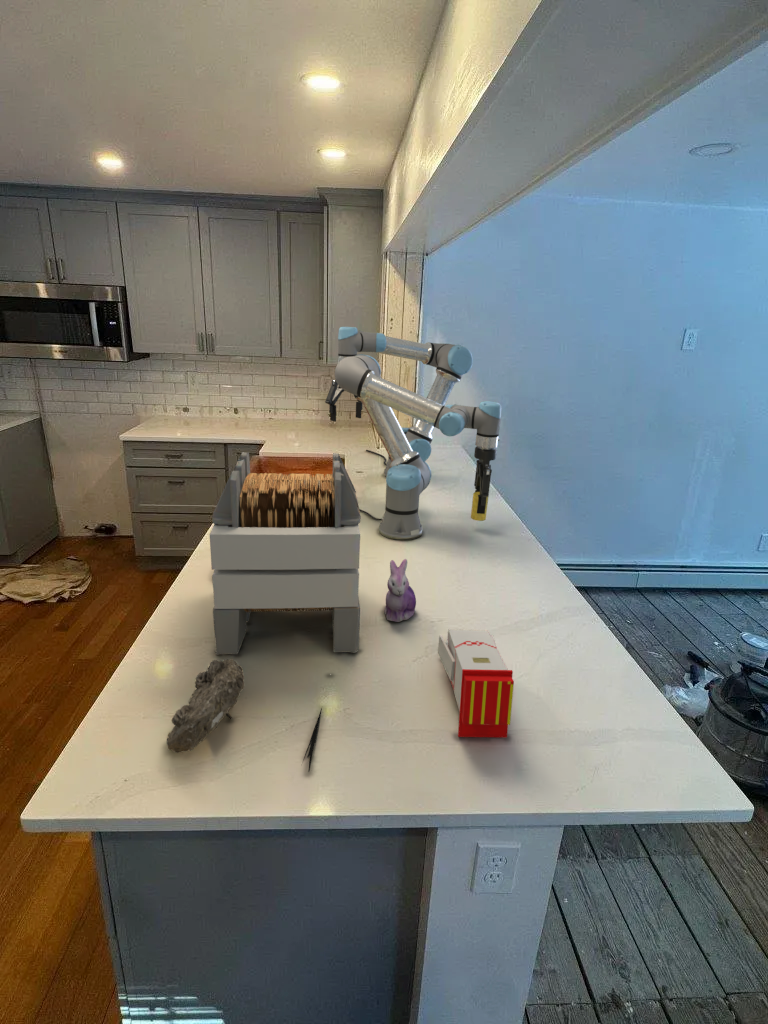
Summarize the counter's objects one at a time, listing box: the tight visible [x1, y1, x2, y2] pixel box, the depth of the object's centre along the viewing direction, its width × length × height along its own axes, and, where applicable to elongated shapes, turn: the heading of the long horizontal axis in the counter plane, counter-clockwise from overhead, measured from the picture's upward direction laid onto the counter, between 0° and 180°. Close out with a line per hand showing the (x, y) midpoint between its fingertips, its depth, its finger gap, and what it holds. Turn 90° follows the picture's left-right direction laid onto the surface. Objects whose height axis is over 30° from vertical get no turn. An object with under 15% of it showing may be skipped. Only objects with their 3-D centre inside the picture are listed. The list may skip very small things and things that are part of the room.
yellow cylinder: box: [470, 491, 490, 522], centre depth 204 cm, size 5×5×9 cm
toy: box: [437, 628, 515, 738], centre depth 117 cm, size 12×13×30 cm
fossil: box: [166, 658, 245, 754], centre depth 106 cm, size 22×10×15 cm
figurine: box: [384, 558, 417, 623], centre depth 145 cm, size 9×10×15 cm
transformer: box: [209, 451, 362, 656], centre depth 137 cm, size 34×33×41 cm
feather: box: [301, 673, 332, 771], centre depth 108 cm, size 2×28×2 cm
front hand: (478, 510), depth 204 cm, fingers closed on yellow cylinder, 5 cm apart
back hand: (346, 419), depth 236 cm, fingers open, 13 cm apart
